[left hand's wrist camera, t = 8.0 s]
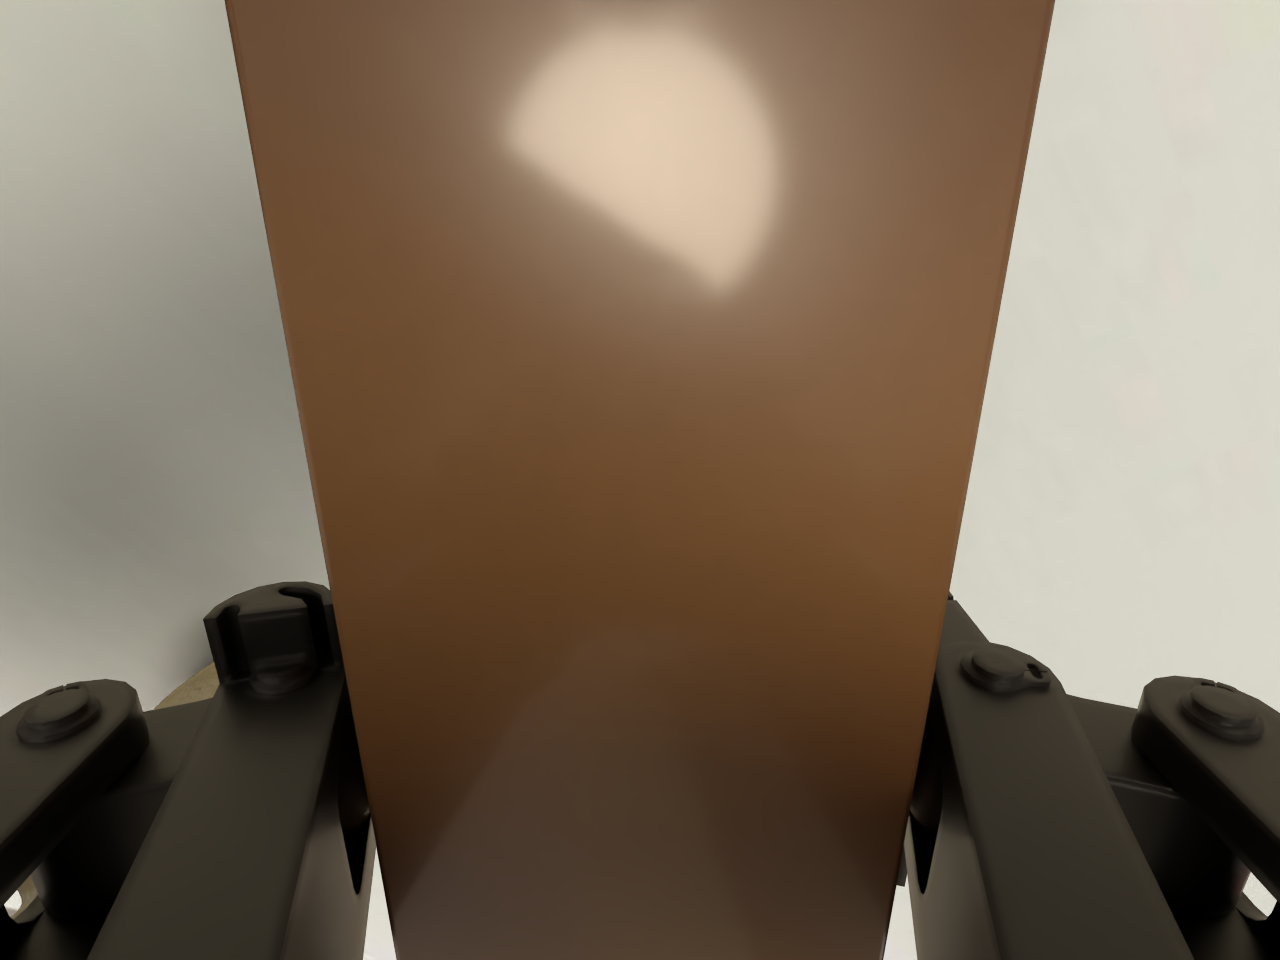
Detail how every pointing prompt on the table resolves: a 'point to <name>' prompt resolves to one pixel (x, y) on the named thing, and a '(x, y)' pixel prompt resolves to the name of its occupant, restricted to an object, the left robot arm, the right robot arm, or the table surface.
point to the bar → (639, 438)
